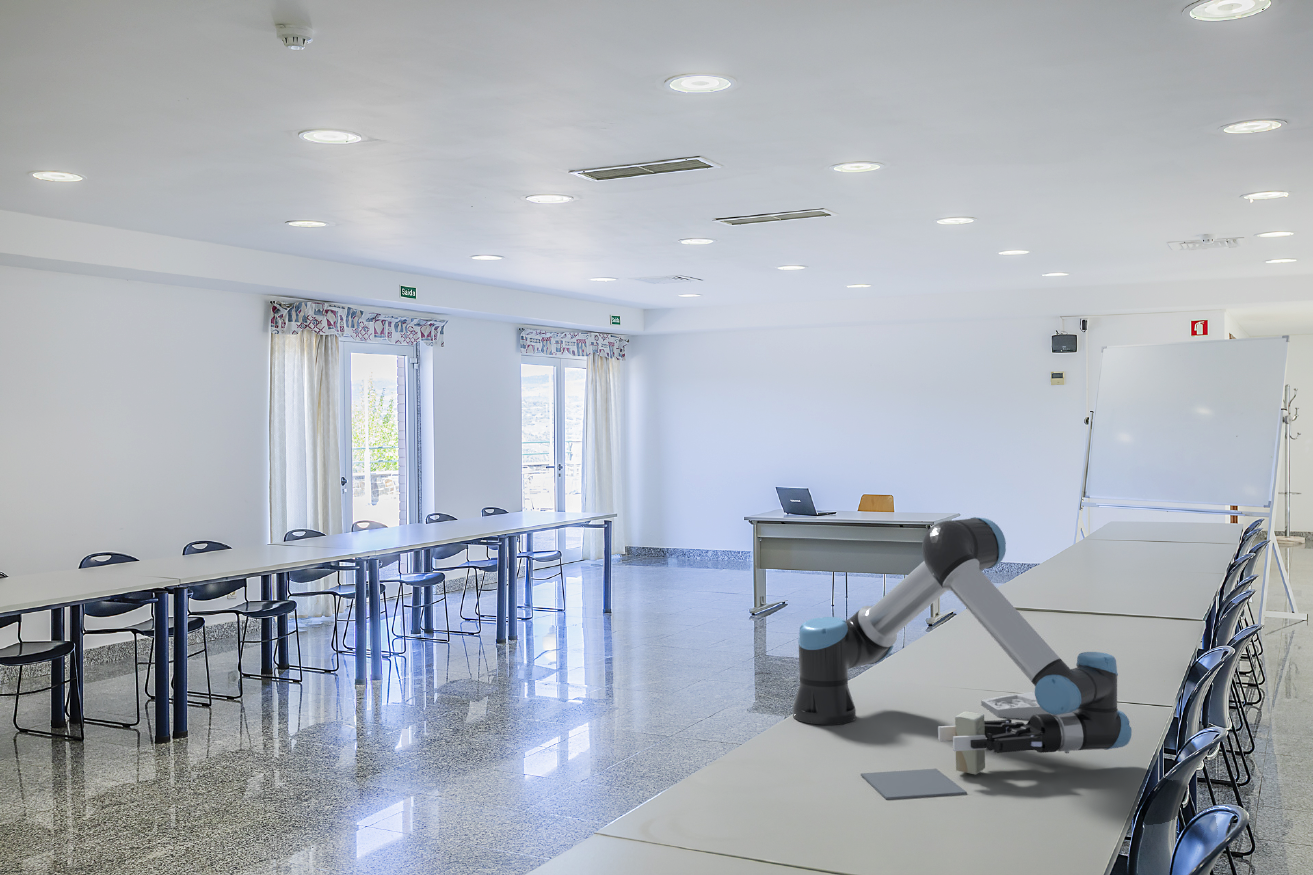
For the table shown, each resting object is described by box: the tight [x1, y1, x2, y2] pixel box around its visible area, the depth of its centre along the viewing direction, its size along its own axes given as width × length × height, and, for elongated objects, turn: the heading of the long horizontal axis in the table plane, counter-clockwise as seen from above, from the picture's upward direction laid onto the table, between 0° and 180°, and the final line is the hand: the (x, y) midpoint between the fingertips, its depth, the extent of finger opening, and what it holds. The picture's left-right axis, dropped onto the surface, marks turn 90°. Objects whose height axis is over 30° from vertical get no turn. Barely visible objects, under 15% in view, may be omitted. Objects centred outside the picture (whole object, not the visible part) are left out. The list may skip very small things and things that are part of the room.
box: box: [954, 710, 986, 775], centre depth 206 cm, size 5×4×11 cm
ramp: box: [980, 690, 1078, 720], centre depth 249 cm, size 28×16×5 cm, turn 51°
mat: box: [860, 768, 968, 800], centre depth 200 cm, size 14×16×1 cm
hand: (946, 738), depth 205 cm, fingers closed on box, 6 cm apart
